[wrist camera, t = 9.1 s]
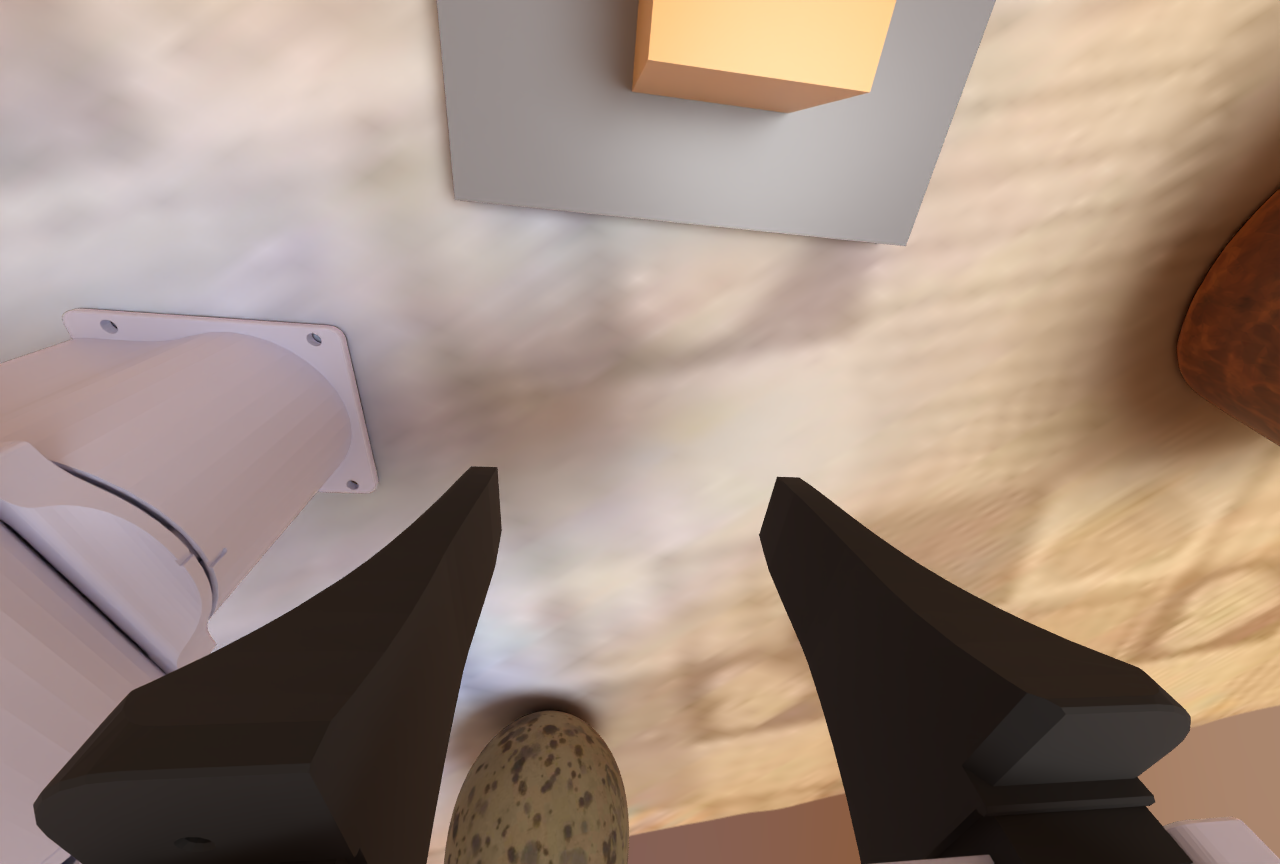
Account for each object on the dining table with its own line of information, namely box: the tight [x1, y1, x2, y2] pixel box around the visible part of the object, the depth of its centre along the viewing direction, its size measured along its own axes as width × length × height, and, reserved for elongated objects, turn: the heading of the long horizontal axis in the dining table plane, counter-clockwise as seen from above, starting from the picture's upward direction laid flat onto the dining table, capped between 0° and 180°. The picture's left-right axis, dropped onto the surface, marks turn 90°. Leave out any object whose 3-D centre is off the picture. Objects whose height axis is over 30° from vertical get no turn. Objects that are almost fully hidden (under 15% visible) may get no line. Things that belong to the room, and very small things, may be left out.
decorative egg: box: [444, 711, 629, 864], centre depth 27 cm, size 11×11×15 cm
